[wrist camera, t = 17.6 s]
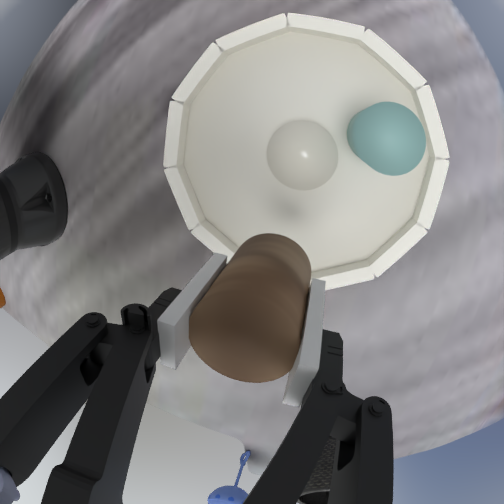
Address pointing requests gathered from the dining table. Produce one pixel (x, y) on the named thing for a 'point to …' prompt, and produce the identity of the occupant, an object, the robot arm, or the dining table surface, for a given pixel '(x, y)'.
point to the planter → (320, 477)
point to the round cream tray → (300, 146)
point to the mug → (2, 299)
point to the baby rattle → (230, 489)
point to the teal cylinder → (387, 138)
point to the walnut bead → (254, 311)
